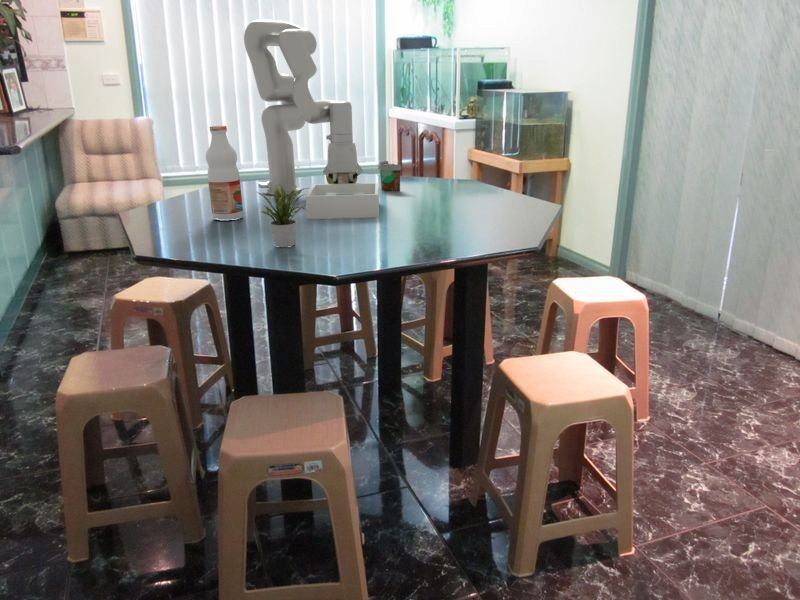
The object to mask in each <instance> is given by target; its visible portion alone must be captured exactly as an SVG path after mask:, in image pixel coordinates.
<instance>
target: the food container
mask: <svg viewBox="0 0 800 600" xmlns="http://www.w3.org/2000/svg"><path fill="white" fill-rule="evenodd" d="M377 169H378V170H379V174H380V186H381V191H383V190H384V191H383V192H391V191H394V192H401V171H402V166H401V164H399V163H398V164H395V163H389V160H384V161H380V162H379V163H378V167H377Z"/></svg>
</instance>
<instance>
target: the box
mask: <svg viewBox="0 0 800 600" xmlns="http://www.w3.org/2000/svg"><path fill="white" fill-rule="evenodd" d="M379 188H380V187H379V182H362V183H361V182H360V183H358V182H356V183H352V184H329V183H325V184H324V183H319V184H316V183H315V184H312V186H311V187H309V190H308V191H307V193H306V194H307V195H305V205H306V206H305V208H306V209H305V211H306V220H329V219H330V218H331V219H333V218H334V219H361V218H364V219H365V218H379V217H380V189H379Z"/></svg>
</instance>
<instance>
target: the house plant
mask: <svg viewBox="0 0 800 600" xmlns="http://www.w3.org/2000/svg"><path fill="white" fill-rule="evenodd" d="M279 186H280V189H281V194H280V191H279V189H278V187H277V186H276V187H277V188H274V192H275V195H274V197H275V198H274V199H275V201H274V202H275V204H276V205H275V206H274V205H273V204H272V202H271V201H270V200H269V198H267V197H266V196H265V195H264V194H262V193H260V192H258V191H256V193H257V194H259V195H260V196H261V197H263V198H264V200H266V202H267V203H268V204H269V206H270V207H271V208H272V209H271V208H270V207H269V206H267V205H263V207H264V208H265V210H266V211H265V210H264V211H263V210H262V211H261V213H262V214H264V215H267V216H269V217H270V218H271V219H272V220H271V221H270V222H269V228H270V231H271V234H272V238H273V243H274V246H275V245H276V246H279V247H288V246H293V245H295V246H296V240H297V238H296V237H297V228H298V227H297V226H298V220H295V219H293V218H294V217H295V215H296V214H297V213H298V212H299V211H300V210H301V209H304V210H305V207H306V204H305V205H302V206H301V207H300V206H296V207H294V205H295V204H296V202H297V201H298V200H299V199H300V198H301V197H303V196H306V195H307V193H306V194H301V195H299V196H298V194H300V193H301V192H302V191H304V190H308V189H309V187H306V188H302V189H301V190H300V191H298V192H297V193H295V194H294V192H295V189H296V188H297V187H298V186H296V187H295V188H293V189H292V190H291V192H290V194H289V195H286V192H285V191H284V190H283V188H282V186H281V185H280V184H279ZM277 189H278V190H277ZM297 196H298V197H297ZM296 197H297V198H296ZM295 198H296V200H295ZM294 200H295V201H294ZM293 202H294V203H293ZM292 203H293V204H292ZM291 204H292V206H291ZM296 209H298V210H296ZM292 213H293V214H292ZM293 247H294V246H293Z"/></svg>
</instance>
